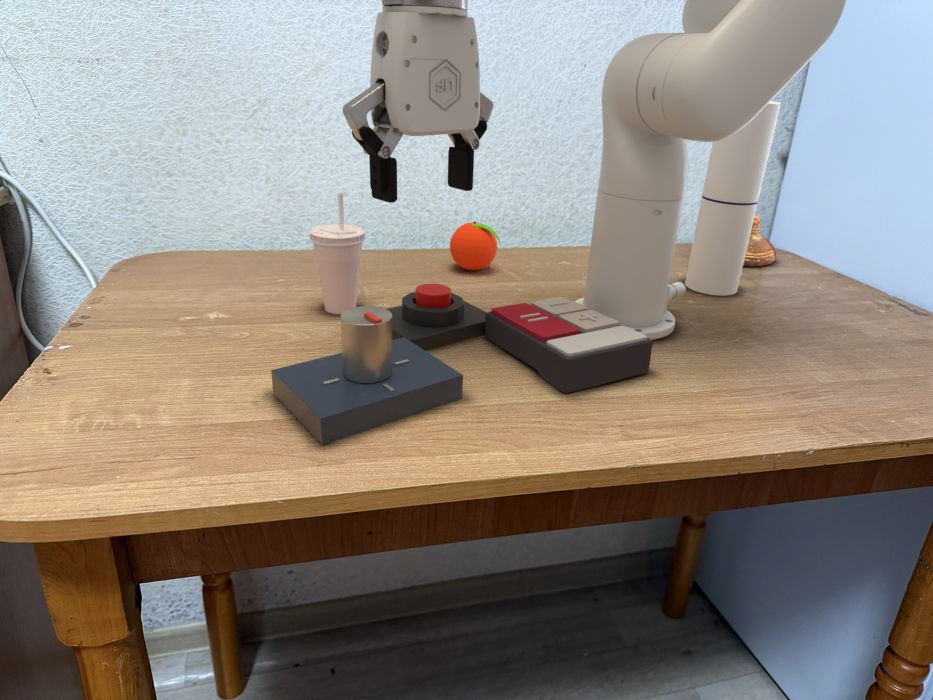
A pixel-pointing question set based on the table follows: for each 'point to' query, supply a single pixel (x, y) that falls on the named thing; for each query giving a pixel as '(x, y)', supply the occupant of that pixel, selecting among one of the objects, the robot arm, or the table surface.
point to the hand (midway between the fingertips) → (423, 194)
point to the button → (433, 296)
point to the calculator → (569, 343)
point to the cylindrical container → (730, 205)
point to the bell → (758, 248)
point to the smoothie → (338, 261)
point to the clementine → (474, 246)
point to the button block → (436, 322)
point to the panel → (364, 392)
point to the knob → (366, 344)
